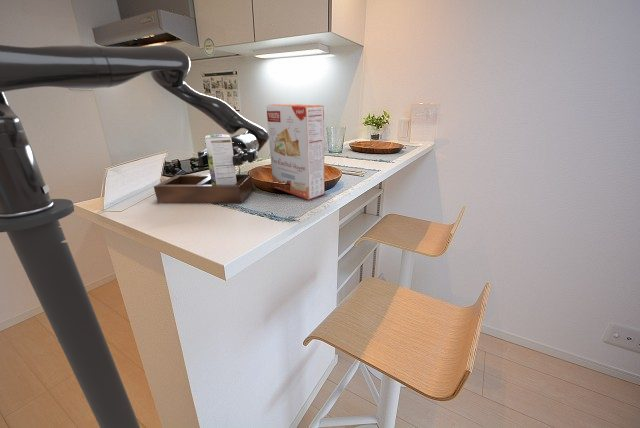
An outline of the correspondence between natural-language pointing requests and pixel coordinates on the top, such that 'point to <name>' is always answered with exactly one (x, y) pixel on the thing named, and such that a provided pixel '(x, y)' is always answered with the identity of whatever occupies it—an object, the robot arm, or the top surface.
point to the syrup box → (220, 159)
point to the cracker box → (297, 148)
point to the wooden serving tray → (202, 190)
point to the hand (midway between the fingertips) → (217, 161)
